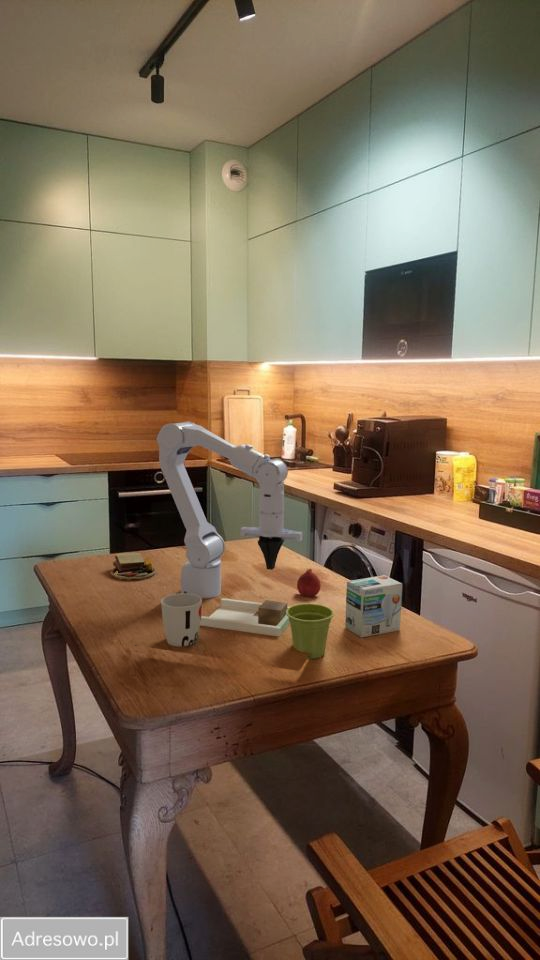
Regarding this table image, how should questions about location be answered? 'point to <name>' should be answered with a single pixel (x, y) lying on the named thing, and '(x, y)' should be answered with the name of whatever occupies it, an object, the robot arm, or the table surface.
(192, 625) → the cup
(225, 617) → the tray
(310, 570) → the onion
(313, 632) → the plant pot
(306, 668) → the table surface
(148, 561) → the toy sandwich meal
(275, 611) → the block
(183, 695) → the table surface
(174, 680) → the table surface
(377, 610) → the light bulb box
